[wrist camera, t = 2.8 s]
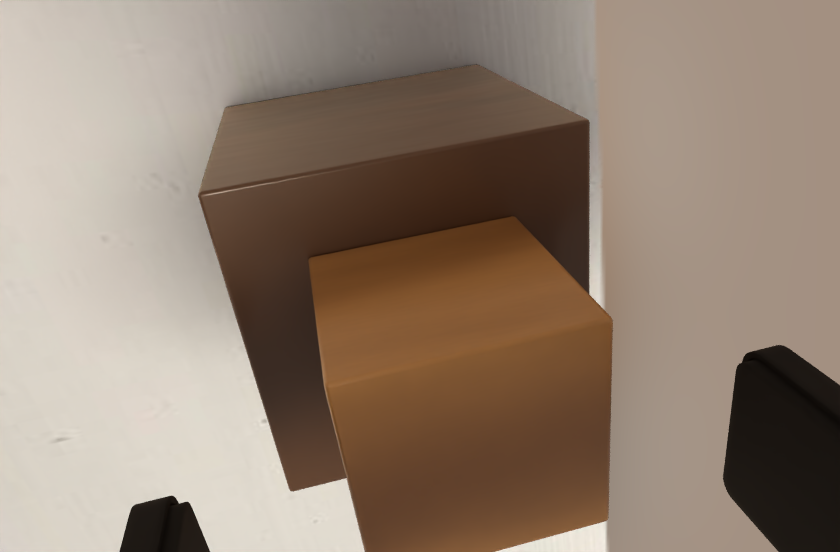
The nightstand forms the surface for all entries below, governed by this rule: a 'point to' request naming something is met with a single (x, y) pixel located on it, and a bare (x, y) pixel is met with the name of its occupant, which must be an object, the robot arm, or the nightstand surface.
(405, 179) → the wooden stand
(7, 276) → the nightstand surface
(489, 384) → the block
